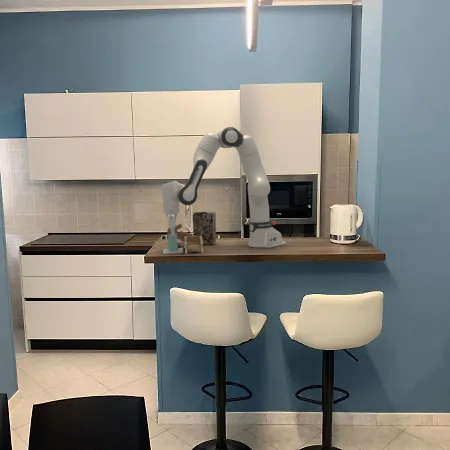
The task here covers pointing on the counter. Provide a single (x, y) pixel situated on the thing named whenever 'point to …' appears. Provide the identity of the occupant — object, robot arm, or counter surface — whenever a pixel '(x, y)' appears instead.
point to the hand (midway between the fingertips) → (173, 234)
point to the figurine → (179, 233)
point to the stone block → (205, 226)
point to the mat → (166, 251)
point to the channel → (193, 244)
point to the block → (172, 242)
